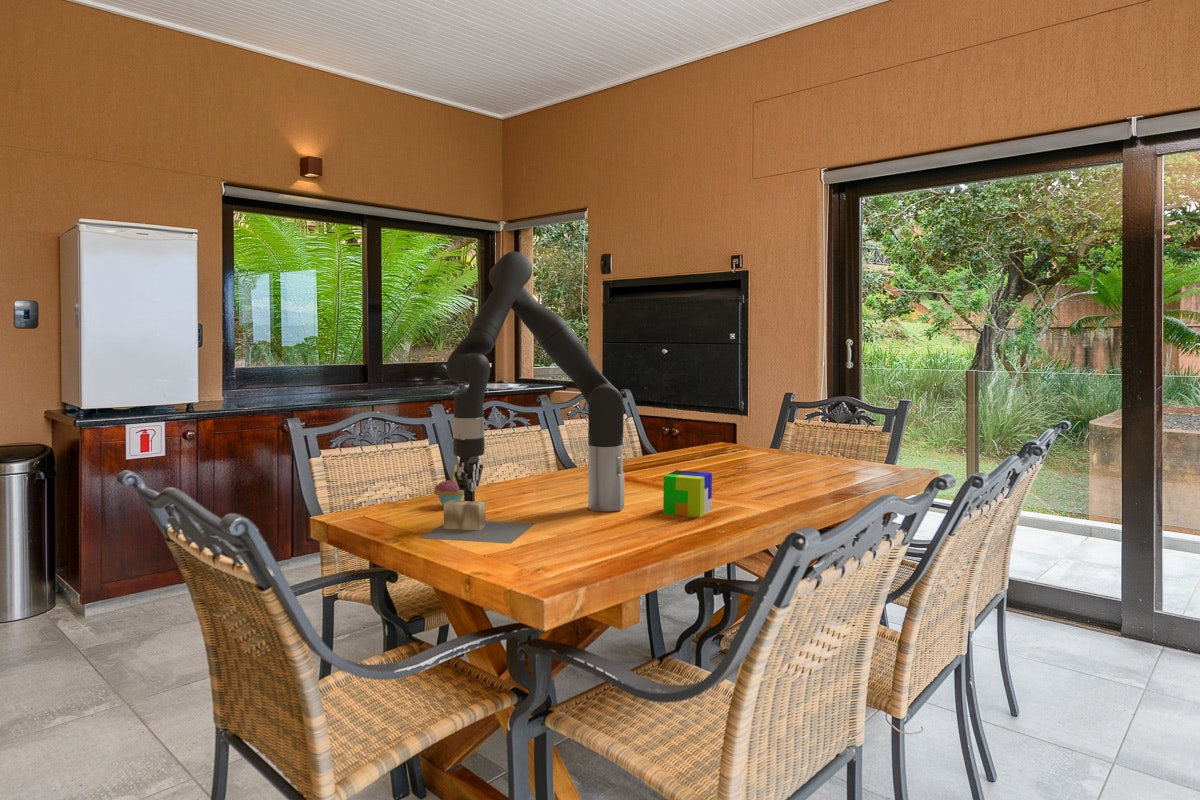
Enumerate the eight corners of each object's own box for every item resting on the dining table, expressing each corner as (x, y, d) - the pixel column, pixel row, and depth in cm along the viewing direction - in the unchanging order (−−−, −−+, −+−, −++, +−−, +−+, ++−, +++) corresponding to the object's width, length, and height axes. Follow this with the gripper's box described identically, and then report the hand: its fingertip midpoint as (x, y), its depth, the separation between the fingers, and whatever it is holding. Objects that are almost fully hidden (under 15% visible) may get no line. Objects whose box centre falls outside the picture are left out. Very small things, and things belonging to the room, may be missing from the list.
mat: (535, 524, 188) (535, 523, 188) (510, 544, 169) (510, 543, 169) (451, 520, 193) (451, 519, 193) (418, 539, 174) (418, 537, 174)
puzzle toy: (711, 509, 205) (711, 472, 204) (700, 517, 196) (700, 478, 195) (676, 506, 209) (676, 470, 208) (663, 513, 200) (663, 476, 199)
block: (485, 501, 185) (450, 500, 186) (479, 505, 181) (443, 503, 182) (485, 526, 185) (450, 524, 187) (479, 530, 181) (443, 528, 183)
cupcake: (472, 504, 212) (471, 461, 211) (456, 510, 204) (455, 465, 203) (444, 502, 215) (444, 459, 214) (428, 508, 207) (427, 464, 206)
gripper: (464, 432, 193) (465, 499, 195) (443, 438, 180) (443, 511, 182) (493, 432, 192) (493, 501, 193) (473, 439, 179) (473, 512, 180)
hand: (469, 505), depth 187 cm, fingers closed
